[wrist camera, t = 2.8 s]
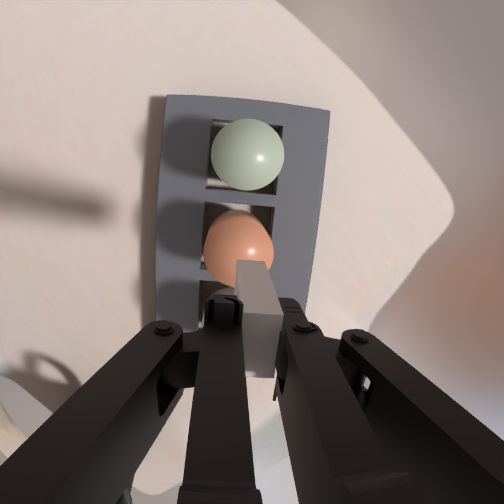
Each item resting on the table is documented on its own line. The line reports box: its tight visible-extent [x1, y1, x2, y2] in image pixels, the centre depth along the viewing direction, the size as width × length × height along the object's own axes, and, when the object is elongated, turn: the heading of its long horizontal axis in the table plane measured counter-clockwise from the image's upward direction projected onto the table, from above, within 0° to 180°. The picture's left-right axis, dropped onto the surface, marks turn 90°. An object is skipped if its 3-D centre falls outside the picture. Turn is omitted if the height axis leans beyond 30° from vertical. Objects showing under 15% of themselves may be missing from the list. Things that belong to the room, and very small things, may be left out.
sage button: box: [211, 119, 284, 190], centre depth 24 cm, size 5×5×5 cm
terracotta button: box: [203, 210, 274, 287], centre depth 25 cm, size 5×5×5 cm
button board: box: [156, 95, 330, 333], centre depth 29 cm, size 14×24×2 cm, turn 174°
